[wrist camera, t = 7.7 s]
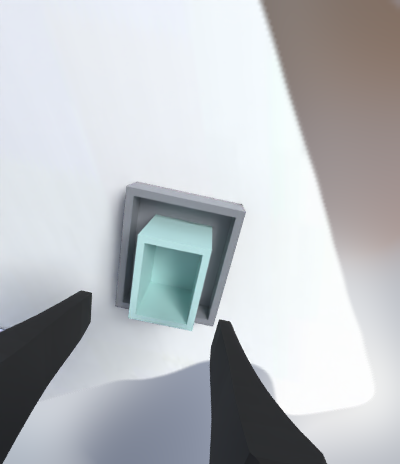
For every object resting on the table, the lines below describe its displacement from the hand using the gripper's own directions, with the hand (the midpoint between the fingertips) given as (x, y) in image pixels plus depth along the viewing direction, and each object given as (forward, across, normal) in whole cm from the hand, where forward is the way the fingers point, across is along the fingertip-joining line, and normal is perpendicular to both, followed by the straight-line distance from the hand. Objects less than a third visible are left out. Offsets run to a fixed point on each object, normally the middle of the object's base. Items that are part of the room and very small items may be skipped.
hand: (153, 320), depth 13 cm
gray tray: (+9, 0, 0) cm, 9 cm away
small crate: (+9, 0, 0) cm, 9 cm away
